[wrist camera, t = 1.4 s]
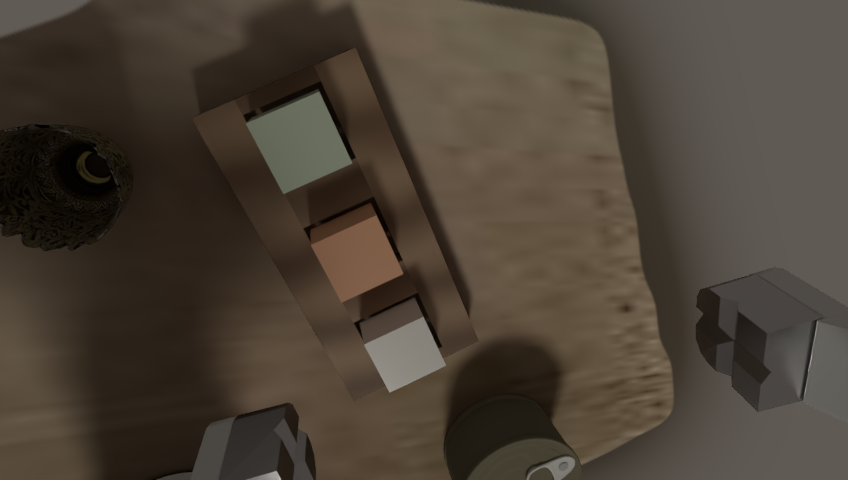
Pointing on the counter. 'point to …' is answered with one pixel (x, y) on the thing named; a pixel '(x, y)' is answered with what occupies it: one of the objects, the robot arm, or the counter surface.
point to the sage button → (299, 141)
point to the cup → (59, 185)
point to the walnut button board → (330, 198)
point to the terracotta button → (355, 252)
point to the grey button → (401, 345)
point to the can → (508, 443)
